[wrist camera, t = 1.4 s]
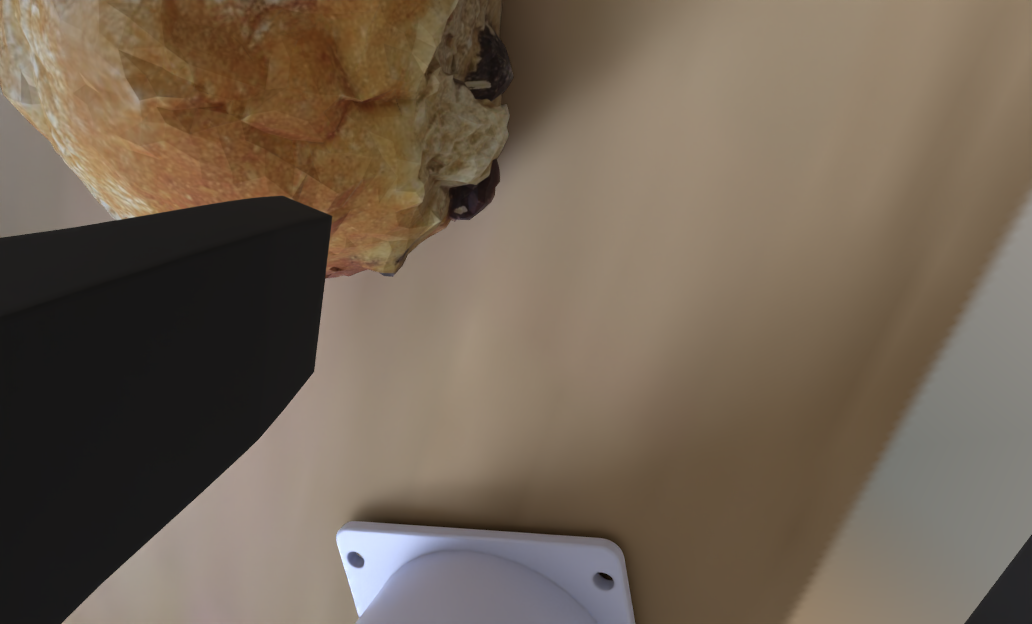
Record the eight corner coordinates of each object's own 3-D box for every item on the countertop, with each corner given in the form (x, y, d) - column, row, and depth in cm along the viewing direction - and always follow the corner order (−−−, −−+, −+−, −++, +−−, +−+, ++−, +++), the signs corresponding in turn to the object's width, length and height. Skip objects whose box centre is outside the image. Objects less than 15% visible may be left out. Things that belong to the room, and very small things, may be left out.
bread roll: (441, -267, 20) (80, -536, 13) (665, 111, 17) (340, 2, 10) (207, 39, 25) (-137, -49, 18) (346, 370, 22) (-4, 404, 15)
